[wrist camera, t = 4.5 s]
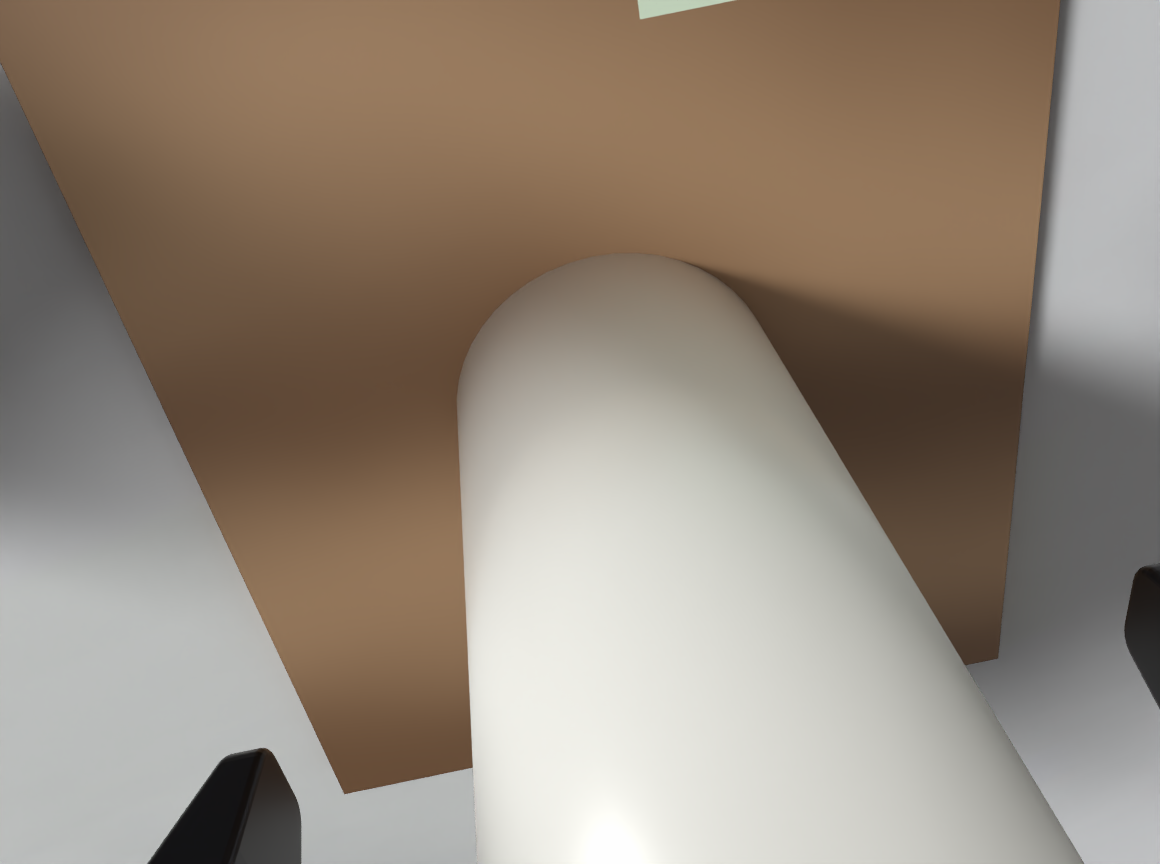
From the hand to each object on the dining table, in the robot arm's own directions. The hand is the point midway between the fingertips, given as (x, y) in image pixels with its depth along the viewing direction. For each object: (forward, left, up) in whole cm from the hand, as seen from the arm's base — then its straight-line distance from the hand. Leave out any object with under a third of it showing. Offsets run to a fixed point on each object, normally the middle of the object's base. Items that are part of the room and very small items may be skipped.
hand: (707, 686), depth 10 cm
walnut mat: (0, 0, -6) cm, 6 cm away
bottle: (0, 0, -6) cm, 6 cm away
